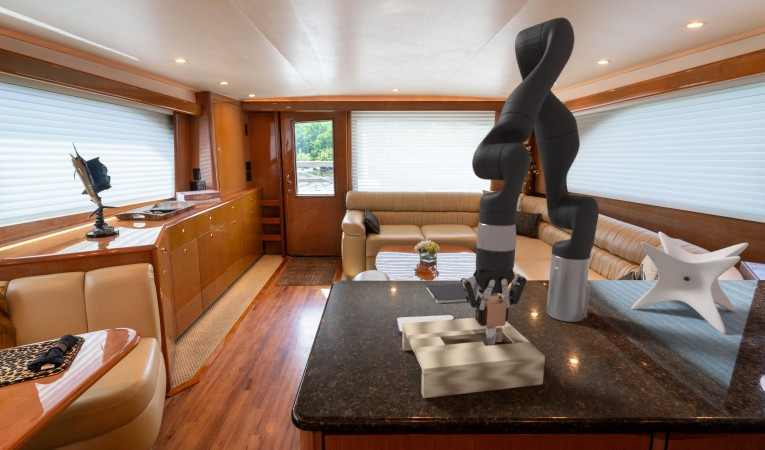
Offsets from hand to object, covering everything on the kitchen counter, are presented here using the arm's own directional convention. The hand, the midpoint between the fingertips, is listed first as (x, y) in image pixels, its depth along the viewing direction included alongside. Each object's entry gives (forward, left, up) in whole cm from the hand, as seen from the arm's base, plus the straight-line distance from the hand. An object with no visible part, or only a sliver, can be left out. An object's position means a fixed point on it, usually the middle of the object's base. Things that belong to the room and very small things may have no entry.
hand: (491, 323), depth 77 cm
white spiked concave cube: (-66, -15, -9) cm, 68 cm away
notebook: (-9, -38, -10) cm, 40 cm away
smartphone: (+8, -18, -10) cm, 22 cm away
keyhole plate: (+5, 0, -9) cm, 10 cm away
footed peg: (0, 0, -8) cm, 8 cm away
